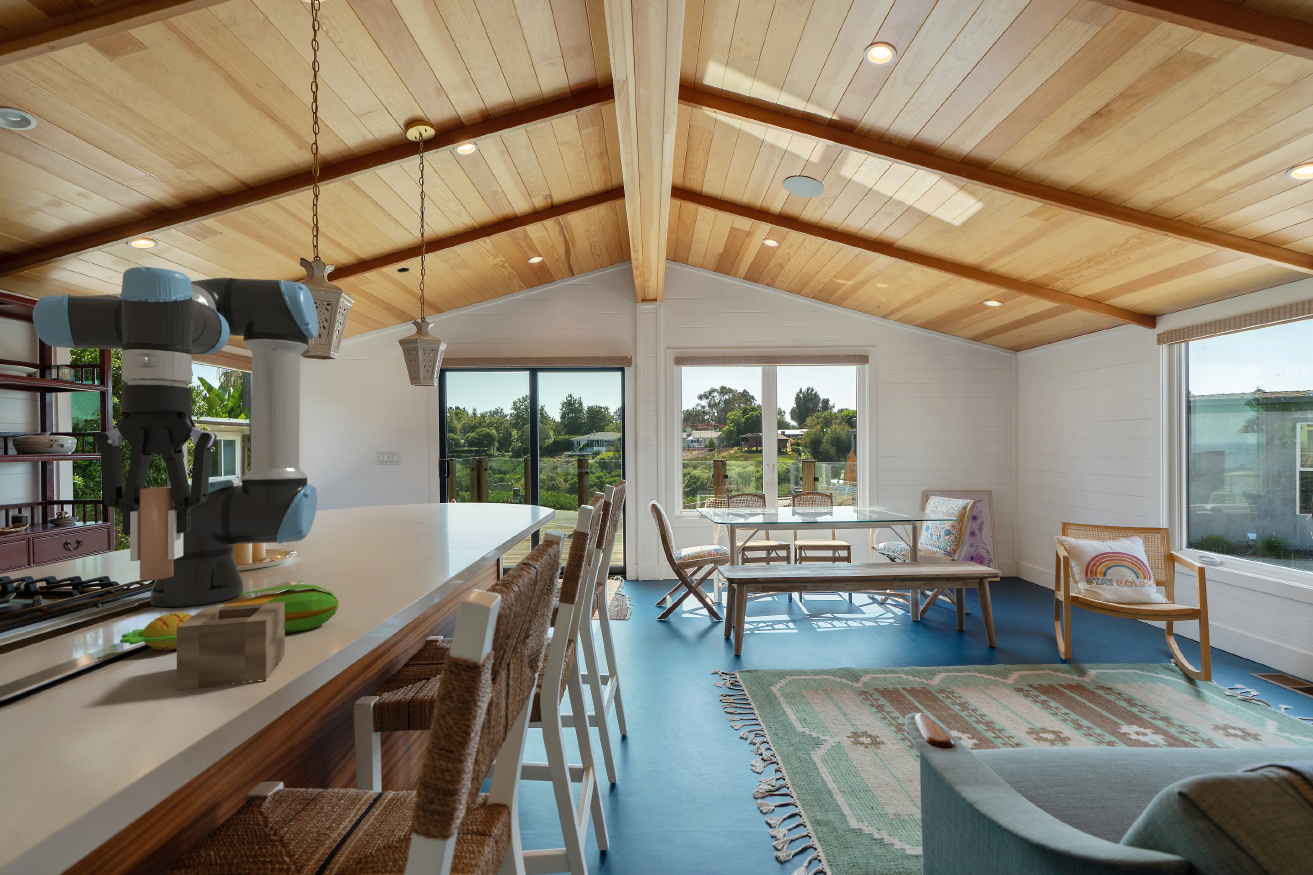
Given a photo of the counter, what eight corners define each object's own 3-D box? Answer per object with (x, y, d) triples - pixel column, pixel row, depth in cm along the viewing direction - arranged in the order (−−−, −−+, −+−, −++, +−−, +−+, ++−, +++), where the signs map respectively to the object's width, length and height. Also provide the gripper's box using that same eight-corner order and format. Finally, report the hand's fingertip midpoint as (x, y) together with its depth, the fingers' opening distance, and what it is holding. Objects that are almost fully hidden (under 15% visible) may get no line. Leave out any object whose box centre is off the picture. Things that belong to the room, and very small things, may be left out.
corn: (339, 583, 108) (194, 598, 98) (340, 629, 108) (193, 648, 98) (337, 577, 114) (200, 591, 105) (337, 621, 114) (199, 638, 104)
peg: (147, 575, 88) (147, 487, 88) (178, 573, 89) (178, 487, 89) (134, 580, 84) (134, 489, 85) (166, 579, 85) (166, 488, 86)
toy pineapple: (204, 650, 97) (204, 614, 97) (118, 663, 92) (118, 625, 92) (204, 638, 103) (204, 605, 103) (123, 650, 97) (123, 615, 97)
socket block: (205, 663, 91) (205, 607, 91) (284, 656, 94) (284, 601, 94) (176, 689, 82) (176, 627, 82) (266, 680, 85) (265, 620, 85)
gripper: (66, 381, 81) (65, 567, 81) (217, 383, 86) (217, 559, 85) (99, 386, 88) (99, 556, 88) (237, 388, 93) (237, 550, 93)
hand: (157, 557), depth 87 cm, fingers closed on peg, 3 cm apart
